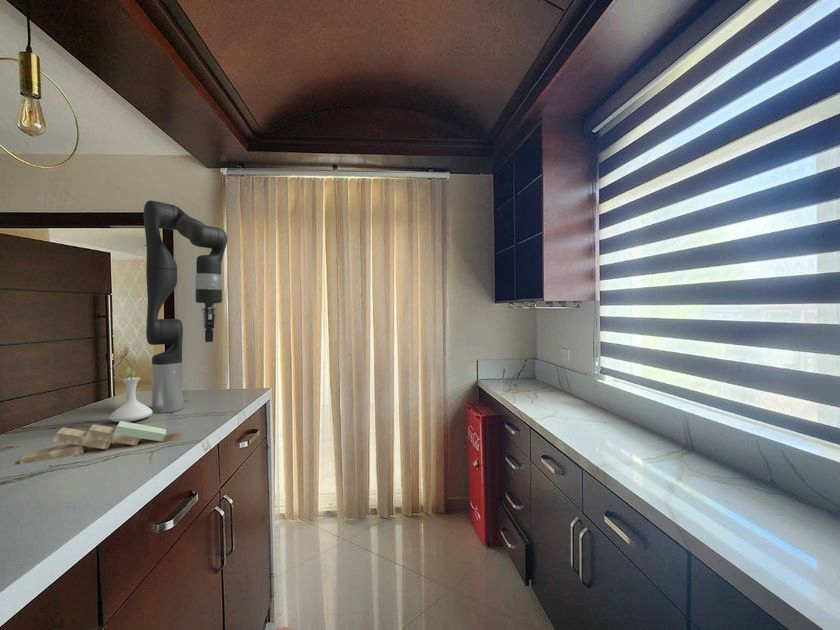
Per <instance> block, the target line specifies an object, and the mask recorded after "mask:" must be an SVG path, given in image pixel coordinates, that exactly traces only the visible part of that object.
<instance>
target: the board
mask: <svg viewBox="0 0 840 630" xmlns="http://www.w3.org/2000/svg"><path fill="white" fill-rule="evenodd" d="M181 440H182V432H178V433H170V434H165V436H164V439H163V441H156V440H150V439H143V438H140V439H139V442H138V444H137V446H136V445H130V444H123V443H117V442H112V443H111V445H110V446H109V448H108V449H101V448H95V447H87V449H86V450H85V451H84V453H82V454H78V455H74V456H73V458H75V457H80V456H86V455H87V456H88V455H93V454H94V455H95V454H101V453H106V452H107V453H108V452H115V451H119V450H125V449H132V448H139V447H145V446H151V445H157V444H165V443H169V442H171V443H172V442H176V441H181Z"/></svg>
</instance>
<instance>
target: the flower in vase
mask: <svg viewBox="0 0 840 630" xmlns="http://www.w3.org/2000/svg"><path fill="white" fill-rule="evenodd" d="M130 348H131V347H130V345H128V346H125V347H124V349H123V351H122V350H121V351H120V352H119V355H118V357H117V358H116V359H115V363H114V364H113V365H112V367H113V369H114V370H115V369H117V368H119V367H120V366H121V365H122V364H123V363H124V361H126V362H127V364H128V365H129V366H128V367H127V369H125V373H126V374H128V377H125V378H122V379H121V381H122V382H123V383H124V385H125V388H126V394H127V395H126V400H125V402H124V403H123V404H122V405H121V406H119V407H118V408H116V410H114V411H113V412H112V413H111V414H110V416H109V420H111V422H116V423H119V422H120V421H123V422H129V423H131V422H136V421H140V420H143V419H146V418H148V417H150V416H151V415H153V413H154V412H153V410H152V408H150V407H148V406H147V405H145V404H144V403H142V402H139V401H138V400H137V396H136V394H137V393H136V392H137V391H136V390H137V385H138V383H139V381H140V380H141V377H138V376H137V377H134V375H135V374H136V371H134V369H133V367H132V364H131V362H129V360H128V359H127V356H128V355H129V353H130Z"/></svg>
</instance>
